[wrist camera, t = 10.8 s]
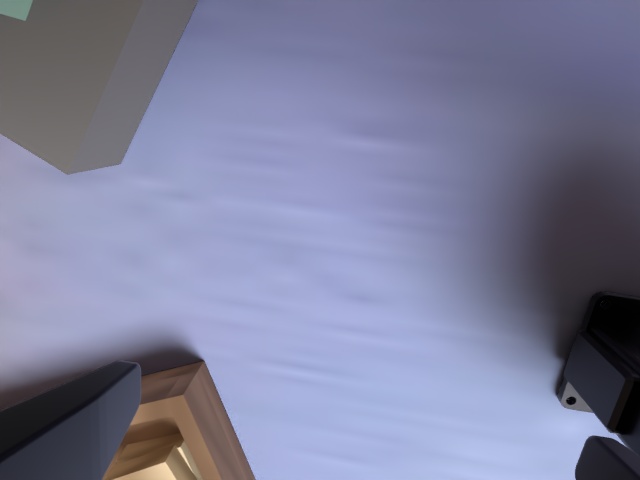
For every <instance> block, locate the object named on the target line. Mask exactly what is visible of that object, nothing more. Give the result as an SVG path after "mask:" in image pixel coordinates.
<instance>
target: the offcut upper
mask: <svg viewBox="0 0 640 480" xmlns="http://www.w3.org/2000/svg"><path fill="white" fill-rule="evenodd" d="M104 480H197V479H196V477H195V476H194V474H193V472H192V471H191V469H190V468H189V466H188V464H187V463H186V461H185V460H184V458H183V457H182V455H181V453H180V452H179V450H178V449H177V447H176V446H175V445H172V446H169V447H166V448H163V449H160V450H157V451H154V452H152V453H149V454H146V455H143V456H140V457H137V458H134V459H131V460H128V461H125V462H122V463H119V464H116V465H114V466H113V468H112V469H111V471H110V472H109V474H108V475H107V476H106V478H105V479H104Z"/></svg>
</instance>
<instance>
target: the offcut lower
mask: <svg viewBox="0 0 640 480" xmlns="http://www.w3.org/2000/svg"><path fill="white" fill-rule="evenodd" d="M172 445H175V446H176V447H177V449H178V450H179V452H180V453H181V455H182V457H183V458H184V460H185V461H186V463H187V464H188V466H189V468H190V469H191V471H192V472H193V474H194V476H195V477H196V479H197V480H203V479H202V477H201V474H200V472H199V470H198V468H197V466H196V464H195V462H194V460H193V457H192V455H191V453H190V451H189V449H188V447H187V445H186V443H185V440H184V438H183V436H182V434H181V433H178V434H174V435H169V436H164V437H160V438H155V439H151V440H146V441H141V442H137V443H132V444H128V445H127V446H126V447H125V448H124V450H123V451H122V453H121V454H120V456H119V457H118V459H117V460H116V462H117V464H119V463H122V462H125V461H128V460H131V459H134V458H137V457H140V456H143V455H146V454H149V453H152V452H154V451H157V450H160V449H163V448H166V447H169V446H172Z"/></svg>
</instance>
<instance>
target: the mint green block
mask: <svg viewBox="0 0 640 480" xmlns="http://www.w3.org/2000/svg"><path fill="white" fill-rule="evenodd" d="M32 2H33V0H0V14H3V15H7V16H10V17H14V18H17V19H20V20H24V21H26V18H27V16H28V13H29V10H30V7H31V4H32Z"/></svg>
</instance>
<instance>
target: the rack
mask: <svg viewBox="0 0 640 480" xmlns="http://www.w3.org/2000/svg"><path fill="white" fill-rule="evenodd" d="M178 433H181V434H182V436H183V438H184V440H185V443H186V445H187V447H188V449H189V451H190V453H191V455H192V457H193V460H194V462H195V464H196V466H197V468H198V470H199V472H200V474H201V477H202V479H203V480H255V478H254V475H253V473H252V471H251V468H250V466H249V464H248V462H247V459H246V457H245V455H244V452H243V450H242V448H241V445H240V443H239V441H238V438H237V436H236V434H235V431H234V429H233V427H232V424H231V422H230V420H229V417H228V415H227V413H226V411H225V408H224V406H223V404H222V401H221V399H220V397H219V394H218V392H217V390H216V387H215V385H214V383H213V380H212V378H211V376H210V373H209V371H208V369H207V366H206V364H205V362H204V361H202V362H198V363H194V364H190V365H186V366H182V367H178V368H174V369H170V370H165V371H161V372H157V373H153V374H149V375H145V376H141V401H140V405H139V408H138V410H137V412H136V414H135V416H134V418H133V420H132V422H131V424H130V426H129V428H128V430H127V432H126V434H125V436H124V438H123V440H122V442H121V444H120V446H119V448H118V450H117V452H116V454H115V456H114V458H113V460H112V462H111V464H110V466H109V468H108V469H107V471H106V473H105V475H104V477H103V479H102V480H104V479H105V478H106V476H107V475H108V474H109V472H110V471H111V469H112V468H113V466H114V465H116V464H117V462H116V460H117V459H118V457H119V456H120V454H121V453H122V451H123V450H124V448H125V447H126V446H127V445H128V444H132V443H137V442H141V441H146V440H151V439H155V438H160V437H164V436H169V435H174V434H178Z"/></svg>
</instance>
